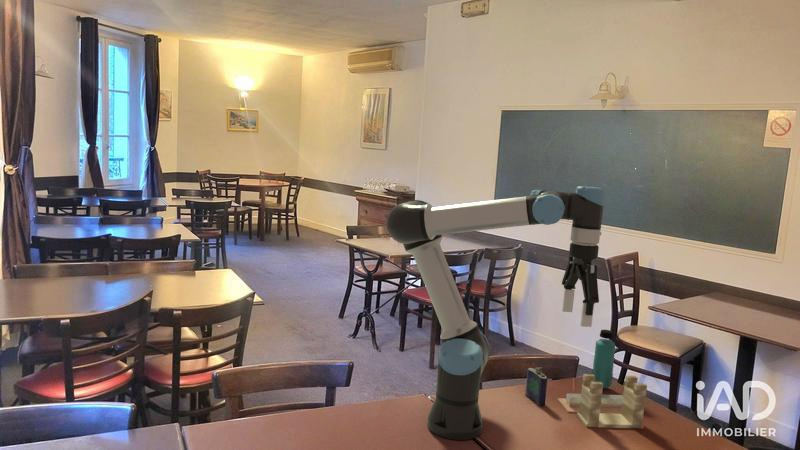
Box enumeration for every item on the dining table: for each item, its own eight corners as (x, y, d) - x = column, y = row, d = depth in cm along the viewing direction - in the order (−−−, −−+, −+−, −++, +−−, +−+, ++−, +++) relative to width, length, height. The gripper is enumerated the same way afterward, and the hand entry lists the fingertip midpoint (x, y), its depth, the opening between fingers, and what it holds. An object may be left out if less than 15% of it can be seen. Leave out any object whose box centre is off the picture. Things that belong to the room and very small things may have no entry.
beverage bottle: (613, 392, 191) (620, 334, 188) (593, 391, 191) (600, 333, 188) (607, 384, 197) (613, 328, 194) (587, 383, 197) (594, 327, 195)
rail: (569, 406, 177) (570, 397, 176) (565, 402, 180) (566, 393, 179) (625, 408, 178) (626, 399, 178) (621, 404, 181) (622, 395, 181)
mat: (567, 412, 174) (568, 411, 173) (557, 399, 182) (557, 398, 182) (634, 414, 175) (634, 413, 175) (621, 401, 184) (621, 400, 184)
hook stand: (586, 427, 165) (591, 383, 163) (576, 415, 172) (581, 374, 170) (643, 428, 166) (648, 385, 165) (631, 417, 173) (636, 375, 171)
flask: (523, 394, 185) (526, 362, 183) (531, 393, 186) (534, 361, 184) (539, 407, 176) (543, 373, 175) (548, 406, 177) (551, 372, 176)
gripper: (618, 252, 145) (608, 333, 148) (580, 236, 170) (572, 306, 173) (589, 250, 145) (580, 332, 147) (555, 235, 169) (548, 305, 172)
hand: (576, 318), depth 160 cm, fingers open, 13 cm apart
